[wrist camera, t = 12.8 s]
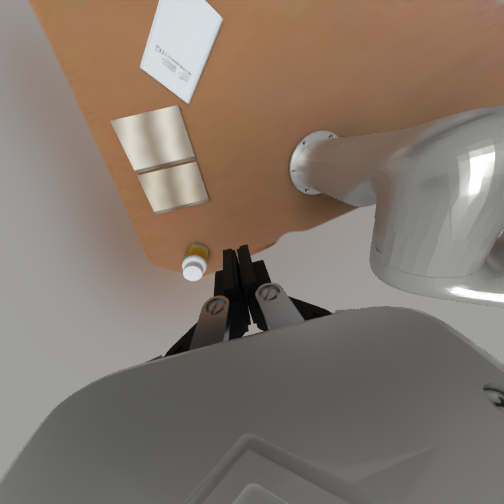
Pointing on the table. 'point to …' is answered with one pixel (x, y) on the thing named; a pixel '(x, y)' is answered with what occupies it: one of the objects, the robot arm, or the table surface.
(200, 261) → the supplement bottle
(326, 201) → the table surface
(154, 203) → the plank
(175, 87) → the external hard drive
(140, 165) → the laid board
